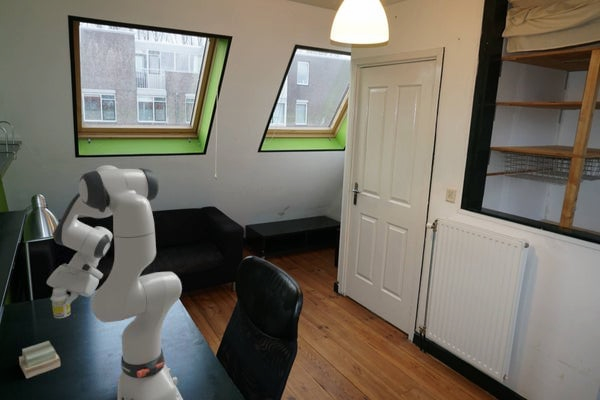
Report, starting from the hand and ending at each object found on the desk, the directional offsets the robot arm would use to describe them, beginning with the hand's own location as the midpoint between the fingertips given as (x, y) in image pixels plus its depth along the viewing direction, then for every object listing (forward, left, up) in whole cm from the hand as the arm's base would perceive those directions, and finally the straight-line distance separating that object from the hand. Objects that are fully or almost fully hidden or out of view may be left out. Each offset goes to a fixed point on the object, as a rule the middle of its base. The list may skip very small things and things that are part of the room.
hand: (59, 302), depth 144 cm
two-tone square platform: (-3, +8, -20) cm, 22 cm away
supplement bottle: (0, -1, -5) cm, 5 cm away
